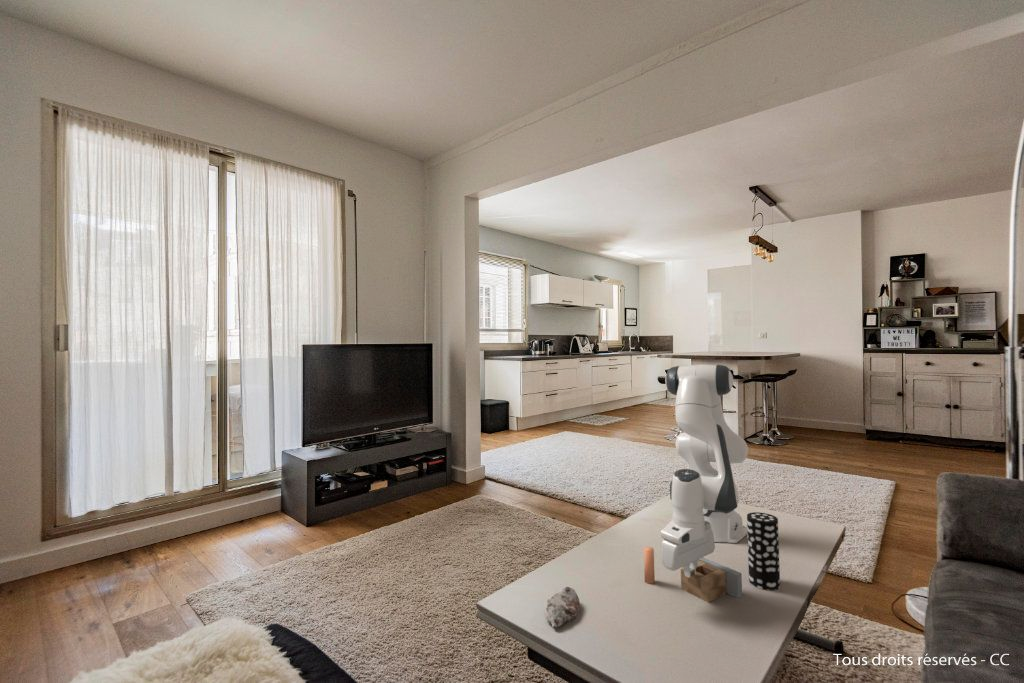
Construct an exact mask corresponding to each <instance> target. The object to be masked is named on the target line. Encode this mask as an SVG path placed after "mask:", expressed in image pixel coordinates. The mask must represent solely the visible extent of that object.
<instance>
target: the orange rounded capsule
mask: <svg viewBox="0 0 1024 683" xmlns="http://www.w3.org/2000/svg"><path fill="white" fill-rule="evenodd" d="M643 564H644V565H643V570H644V573H643V575H644V583H646V584H649V585H653V584H655V581H656V580H655V549H654V548H653V547H650V546H645V547H643Z"/></svg>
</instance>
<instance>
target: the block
mask: <svg viewBox="0 0 1024 683" xmlns="http://www.w3.org/2000/svg"><path fill="white" fill-rule="evenodd" d="M680 588H681V591H684V592H686V593H688V594H691V595H693V596H694V597H697V599H698V598H699V599H700V600H702V601H705V602H707V603H711V602H713V601H714V600H716V599H718V598H720V597H722V596H724V595H725V594H728V593H727V579H726V572H725V571H722V570H720V569H718V568H715V567H713V566H711V565H708V564H706V563H703V562H701V561H698V564H697V567H696V574H695V575H693V576H691V577H689V578H688V577H686V576H685V575H684V569H683V567H681V568H680Z"/></svg>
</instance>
